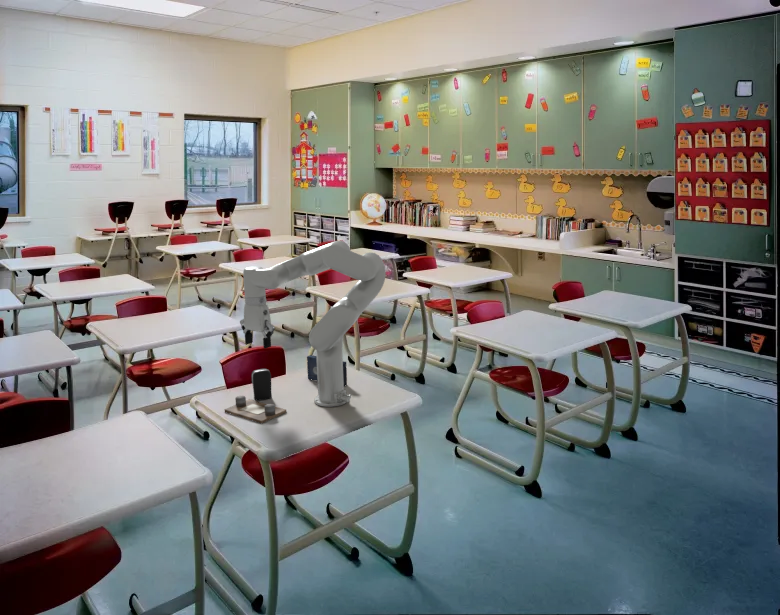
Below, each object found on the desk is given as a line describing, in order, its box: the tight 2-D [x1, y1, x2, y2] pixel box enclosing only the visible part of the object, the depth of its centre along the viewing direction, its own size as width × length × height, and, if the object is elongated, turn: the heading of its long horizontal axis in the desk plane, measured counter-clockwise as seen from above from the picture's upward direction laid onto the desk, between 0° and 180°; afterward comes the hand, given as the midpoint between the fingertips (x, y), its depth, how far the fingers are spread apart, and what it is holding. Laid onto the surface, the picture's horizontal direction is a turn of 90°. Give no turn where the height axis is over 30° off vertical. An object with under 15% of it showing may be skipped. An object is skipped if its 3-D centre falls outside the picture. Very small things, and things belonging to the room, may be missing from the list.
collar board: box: [224, 395, 287, 424], centre depth 229 cm, size 19×12×4 cm, turn 55°
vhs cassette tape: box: [306, 354, 348, 387], centre depth 258 cm, size 18×3×10 cm, turn 57°
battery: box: [251, 368, 273, 401], centre depth 241 cm, size 7×4×11 cm, turn 113°
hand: (258, 345), depth 238 cm, fingers open, 9 cm apart
